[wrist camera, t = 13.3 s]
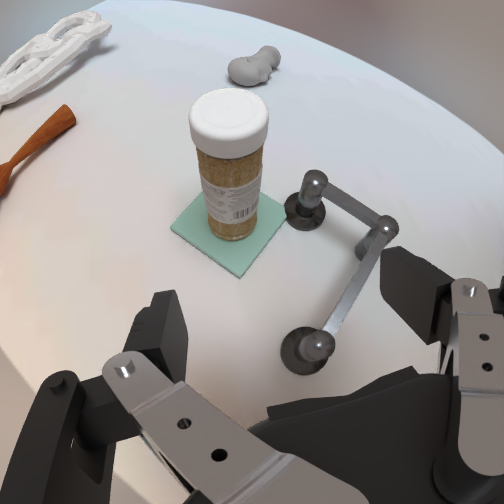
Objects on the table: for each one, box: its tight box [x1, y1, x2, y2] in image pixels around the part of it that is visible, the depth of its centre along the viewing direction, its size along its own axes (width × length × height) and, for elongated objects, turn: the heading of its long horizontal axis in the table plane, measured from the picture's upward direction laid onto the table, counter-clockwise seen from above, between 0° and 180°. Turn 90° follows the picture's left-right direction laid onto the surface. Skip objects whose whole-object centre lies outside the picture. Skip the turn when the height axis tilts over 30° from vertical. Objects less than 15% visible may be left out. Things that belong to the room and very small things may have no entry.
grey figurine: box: [228, 46, 281, 86], centre depth 36 cm, size 4×8×5 cm
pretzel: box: [0, 10, 112, 110], centre depth 38 cm, size 28×24×6 cm
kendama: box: [0, 104, 76, 196], centre depth 29 cm, size 6×6×20 cm
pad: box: [170, 191, 290, 279], centre depth 29 cm, size 8×8×1 cm
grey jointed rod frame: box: [281, 170, 399, 375], centre depth 25 cm, size 15×11×6 cm
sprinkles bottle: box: [189, 88, 269, 241], centre depth 22 cm, size 5×5×13 cm
